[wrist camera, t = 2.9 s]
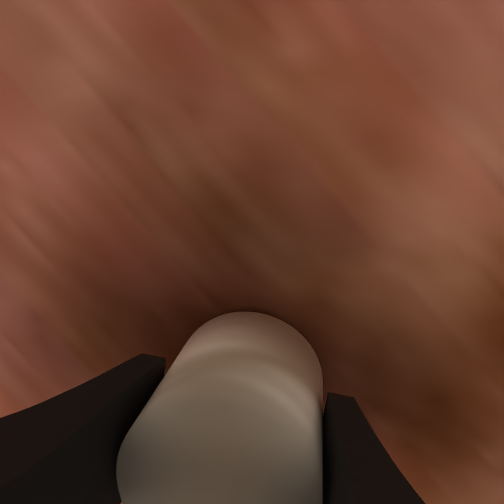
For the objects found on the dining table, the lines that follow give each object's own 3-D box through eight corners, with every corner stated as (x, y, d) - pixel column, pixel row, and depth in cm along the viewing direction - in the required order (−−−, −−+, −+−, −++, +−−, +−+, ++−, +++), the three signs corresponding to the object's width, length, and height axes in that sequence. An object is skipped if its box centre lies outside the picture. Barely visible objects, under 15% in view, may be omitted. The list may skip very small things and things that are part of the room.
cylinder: (335, 327, 12) (342, 423, 8) (308, 455, 13) (302, 595, 9) (186, 298, 12) (122, 375, 8) (172, 425, 13) (110, 545, 9)
